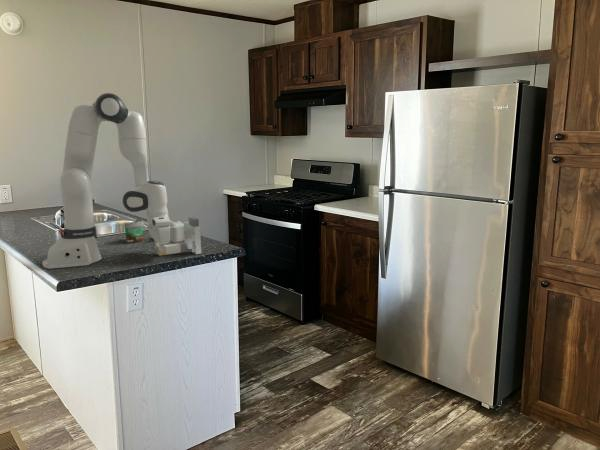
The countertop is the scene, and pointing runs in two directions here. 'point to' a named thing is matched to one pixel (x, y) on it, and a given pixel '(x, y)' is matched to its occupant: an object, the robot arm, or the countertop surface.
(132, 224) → the food container
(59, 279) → the countertop surface
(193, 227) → the motor housing
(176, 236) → the lumpy-topped squat cylinder
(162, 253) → the cream rectangular bar
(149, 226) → the robot arm
